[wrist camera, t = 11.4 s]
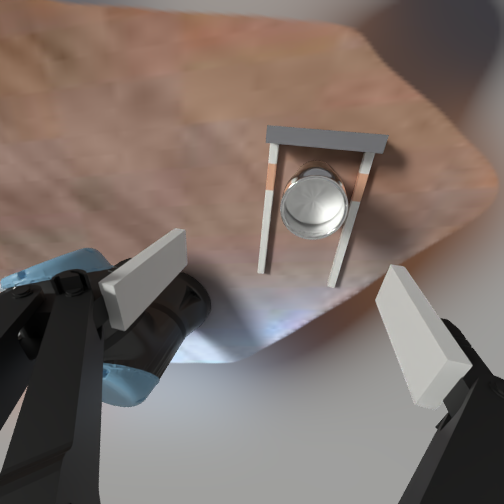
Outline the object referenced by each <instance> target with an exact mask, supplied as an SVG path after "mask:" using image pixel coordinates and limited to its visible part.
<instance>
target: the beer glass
mask: <svg viewBox="0 0 504 504" xmlns="http://www.w3.org/2000/svg"><path fill="white" fill-rule="evenodd" d="M280 213H281V218H282V220H283V222H284V224H285V226H286V227H287V228H288V230H289V231H291V232H292V233H293V234H295V235H296V236H298V237H301V238H304V239H311V240H315V239H321V238H325V237H327V236H329V235H331V234H333V233H334V232H336V231H337V230H338V229H339V228H340V227H341V225H342V224H343V223H344V221H345V219H346V216H347V213H348V199H347V193H346V189H345V186H344V184H343V182H342V180H341V179H340V177H339V176H338V175H337V174H336V173H335V172H334V171H333V170H332V168H331V167H330V166H329V165H328V164H327V163H325V162H323V161H320V160H312V161H308V162H306V163H304V164H303V165H302V166H301V167H300V168H299V169H298V170H297V172H296V173H295V174H294V175H293V176H292V177H291V179H290V180H289V182H288V183H287V185H286V187H285V189H284V192H283V196H282V200H281V205H280Z"/></svg>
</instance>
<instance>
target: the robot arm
mask: <svg viewBox="0 0 504 504" xmlns="http://www.w3.org/2000/svg"><path fill="white" fill-rule="evenodd" d="M187 264H188V263H187V247H186V232H185V230H183V229H177V228H175V229H173V230H172V231H170V232H169V233H167V234H166V235H165V236H163V237H162V238H160V239H159V240H158V241H156V242H155V243H153V244H152V245H150V246H149V247H148V248H146V249H145V250H143V251H142V252H141V253H139V254H138V255H136V256H135V257H133V258H129V259H126V260H123V261H121V262H119V263H118V264H116V265H115V266H113V265H111V264H110V263H109V262H108V261H107V260H106V259H105V257H104V256H103V255H102V254H101V253H100V252H99V251H98V250H96V249H93V248H83V249H79V250H76V251H73V252H70V253H67V254H64V255H62V256H59V257H56V258H53V259H51V260H48V261H45V262H43V263H40V264H37V265H35V266H32V267H30V268H27V269H25V270H22V271H20V272H18V273H15V274H12V275H9V276H7V277H5V278H3V279H2V280H1V282H0V283H1V288H3V289H6V290H5V291H3V292H1V293H0V430H1V429H2V427H3V425H4V424H5V422H6V420H7V419H8V417H9V415H10V414H11V412H12V410H13V409H14V407H15V405H16V404H17V402H18V401H19V399H20V397H21V396H22V394H23V392H24V391H25V389H26V387H27V386H28V387H27V391H26V394H25V397H24V400H23V403H22V407H21V410H20V413H19V416H18V419H17V423H16V426H15V429H14V433H13V435H12V439H11V442H10V445H9V448H8V451H7V455H6V458H5V461H4V464H3V468H2V471H1V473H0V504H100V497H99V488H98V487H99V458H100V433H101V432H100V431H101V407H102V402H104V403H107V404H111V405H114V406H120V407H132V406H136V405H139V404H140V403H142V402H143V401H144V400H145V399H146V398H147V397H148V395H149V394H150V393H151V391H152V390H153V388H154V387H155V386H156V385H157V384H158V383H159V380H160V378H161V376H162V374H163V373H164V371H165V370H166V368H167V366H168V365H169V363H170V362H171V360H172V358H173V357H174V355H175V353H176V352H177V350H178V349H179V347H180V345H181V344H182V342H183V340H184V339H185V337H186V336H188V335H189V334H190V333H192V332H193V331H194V330H195V329H196V328H198V327H199V326H200V325H202V324H203V322H204V321H205V320H206V318H207V316H208V314H209V312H210V309H211V303H210V299H209V296H208V294H207V292H206V290H205V289H204V288H203V287H202V285H201V284H200V283H199V282H197V281H196V280H195V279H193V278H192V277H190V276H188V275H186V274H184V273H181V271H182V270H183V269H184V268H185V266H186V265H187ZM375 301H376V304H377V306H378V309H379V312H380V314H381V317H382V320H383V322H384V325H385V328H386V330H387V333H388V335H389V338H390V341H391V343H392V346H393V349H394V351H395V354H396V356H397V359H398V362H399V364H400V367H401V370H402V372H403V375H404V378H405V380H406V383H407V386H408V388H409V391H410V393H411V396H412V399H413V401H414V404H415V405H417V406H421V407H425V408H429V409H433V410H437V408H438V407H439V406H440V405H441V404H442V402H444V404H445V406H446V408H447V410H448V413H447V414H446V415H445V417H444V418H443V419H442V420H441V421H440V422H439V423H438V425H437V426H436V428H437V429H438V430H437V432H436V433H435V435H434V437H433V439H432V441H431V443H430V445H429V447H428V449H427V450H426V452H425V454H424V456H423V458H422V460H421V462H420V464H419V465H418V467H417V469H416V471H415V473H414V475H413V477H412V478H411V481H410V482H409V484H408V486H407V488H406V490H405V492H404V494H403V496H402V497H401V499H400V501H399V503H398V504H504V380H503V379H501V378H499V377H496V376H494V375H493V374H492V373H491V371H490V370H489V369H488V367H487V366H486V365H485V363H484V362H483V361H482V359H481V358H480V357H479V356H478V354H477V353H476V351H475V350H474V349H473V348H471V345H470V343H469V342H468V341H467V340H466V338H465V337H464V335H463V334H462V333H461V331H460V330H459V329H458V328H457V327H456V326H455V325H453V324H452V323H451V322H450V321H449V320H447V319H442V318H440V317H439V316H438V314H437V313H436V312H435V310H434V309H433V307H432V306H431V304H430V303H429V301H428V300H427V299H426V297H425V296H424V294H423V293H422V292H421V290H420V288H419V287H418V286H417V284H416V283H415V281H414V280H413V278H412V277H411V275H410V274H409V273H408V271H407V270H406V268H405V267H403V266H397V265H391V264H390V267H389V269H388V272H387V274H386V276H385V279H384V281H383V284H382V286H381V288H380V290H379V293H378V295H377V298H376V300H375Z"/></svg>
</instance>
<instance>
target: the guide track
mask: <svg viewBox="0 0 504 504" xmlns="http://www.w3.org/2000/svg"><path fill="white" fill-rule="evenodd" d="M388 136H389V135H381V134H369V133H356V132H344V131H331V130H319V129H306V128H294V127H281V126H269V125H267V134H266V143H270V152H269V162H268V172H267V182H266V192H265V202H264V213H263V223H262V233H261V243H260V253H259V263H258V273H261V274H264V272H265V265H266V256H267V248H268V239H269V230H270V222H271V213H272V205H273V196H274V187H275V179H276V170H277V162H278V153H279V144H285V145H296V146H306V147H317V148H328V149H338V150H349V151H360V152H364V154H363V158H362V161H361V165H360V168H359V172H358V175H357V179H356V183H355V186H354V190H353V193H352V197H351V200H350V204H349V207H348V213H347V216H346V219H345V222H344V225H343V229H342V232H341V236H340V240H339V243H338V247H337V250H336V254H335V257H334V261H333V265H332V268H331V272H330V275H329V279H328V282H327V284H328V287H333V288H335V284H336V281H337V278H338V274H339V271H340V268H341V264H342V261H343V258H344V254H345V251H346V248H347V245H348V241H349V238H350V235H351V231H352V228H353V225H354V221H355V218H356V215H357V212H358V208H359V205H360V202H361V198H362V195H363V192H364V188H365V185H366V182H367V178H368V175H369V172H370V169H371V165H372V162H373V159H374V155H375V153H381V154H383V152H384V148H385V145H386V142H387V139H388Z"/></svg>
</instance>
